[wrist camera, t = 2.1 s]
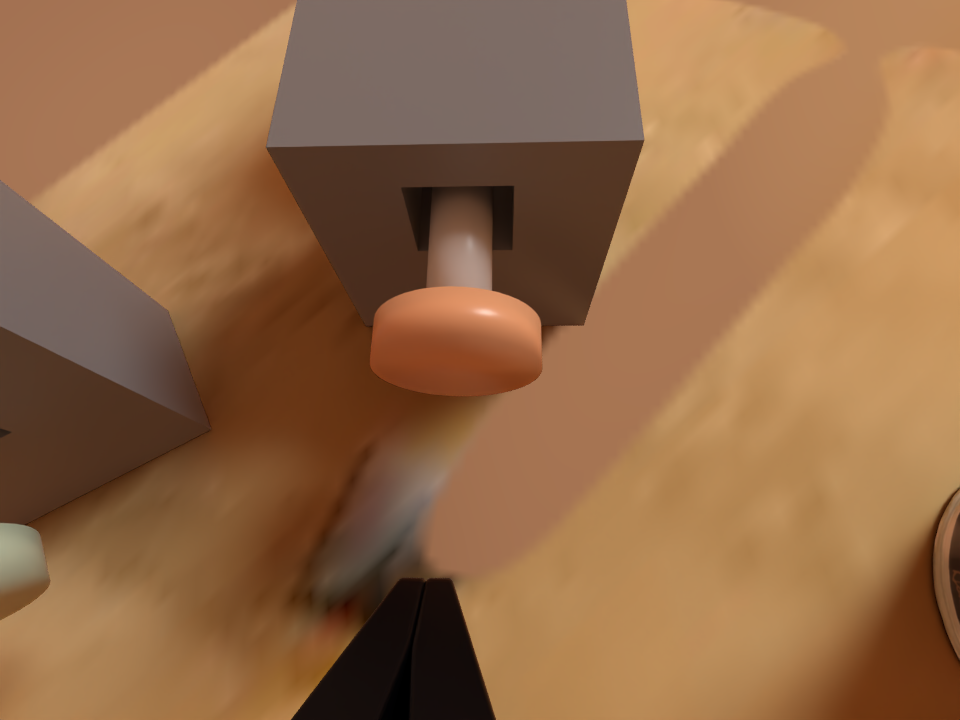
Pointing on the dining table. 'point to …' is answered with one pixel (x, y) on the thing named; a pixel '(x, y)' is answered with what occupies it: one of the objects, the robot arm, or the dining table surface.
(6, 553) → the sage button
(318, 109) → the right button box
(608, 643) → the dining table surface
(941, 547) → the coffee can
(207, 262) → the dining table surface
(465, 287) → the terracotta button
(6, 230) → the left button box
